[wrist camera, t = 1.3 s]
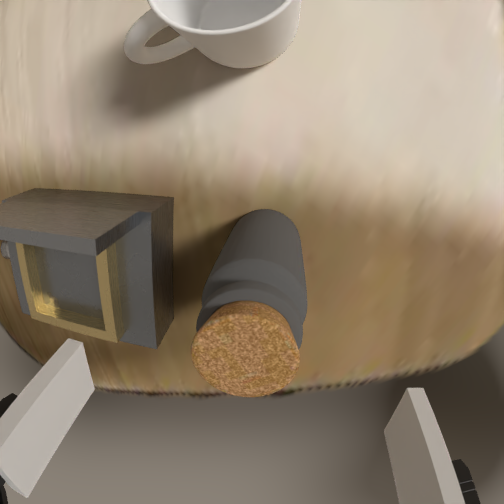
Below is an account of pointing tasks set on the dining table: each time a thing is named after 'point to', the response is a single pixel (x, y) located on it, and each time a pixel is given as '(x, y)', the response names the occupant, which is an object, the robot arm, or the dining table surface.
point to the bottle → (253, 308)
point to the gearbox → (93, 261)
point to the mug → (216, 30)
